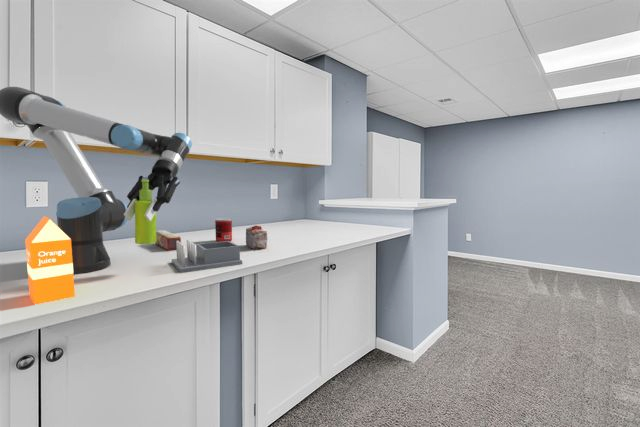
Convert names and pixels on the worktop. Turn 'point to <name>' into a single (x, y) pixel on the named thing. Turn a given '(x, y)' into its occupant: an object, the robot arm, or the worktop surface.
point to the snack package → (167, 240)
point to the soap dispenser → (143, 227)
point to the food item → (256, 237)
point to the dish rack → (206, 256)
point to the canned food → (223, 229)
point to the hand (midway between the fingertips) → (137, 217)
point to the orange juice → (49, 263)
